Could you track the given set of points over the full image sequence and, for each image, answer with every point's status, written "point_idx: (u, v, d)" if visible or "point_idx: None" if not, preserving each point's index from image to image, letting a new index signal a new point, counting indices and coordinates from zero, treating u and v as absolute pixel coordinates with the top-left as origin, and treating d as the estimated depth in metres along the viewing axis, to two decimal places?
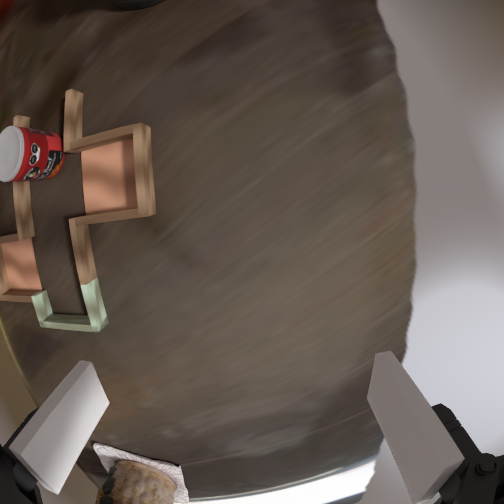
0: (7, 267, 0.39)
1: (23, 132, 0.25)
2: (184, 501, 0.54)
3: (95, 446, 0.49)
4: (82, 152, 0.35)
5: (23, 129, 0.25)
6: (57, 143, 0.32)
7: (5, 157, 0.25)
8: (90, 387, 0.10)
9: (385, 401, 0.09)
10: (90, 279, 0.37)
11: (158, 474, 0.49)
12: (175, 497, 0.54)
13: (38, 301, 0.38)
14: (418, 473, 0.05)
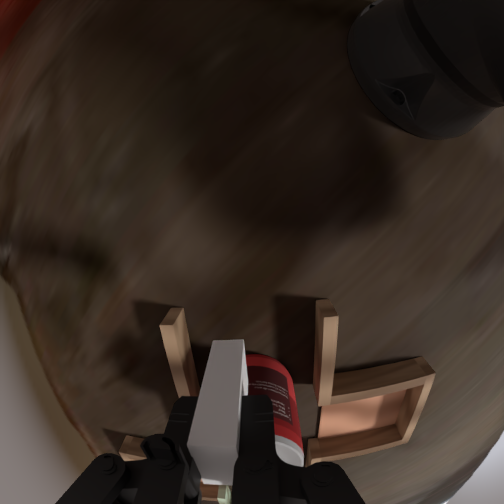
0: None
1: (295, 441, 0.16)
2: None
3: None
4: None
5: (287, 431, 0.17)
6: (292, 384, 0.24)
7: None
8: None
9: None
10: None
11: None
12: None
13: (226, 498, 0.30)
14: None
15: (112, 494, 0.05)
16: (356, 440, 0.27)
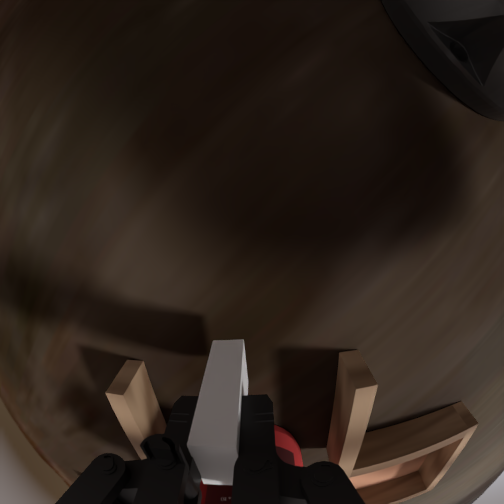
0: None
1: None
2: None
3: None
4: None
5: None
6: (300, 458, 0.15)
7: None
8: None
9: None
10: None
11: None
12: None
13: None
14: None
15: (112, 494, 0.05)
16: (373, 494, 0.18)
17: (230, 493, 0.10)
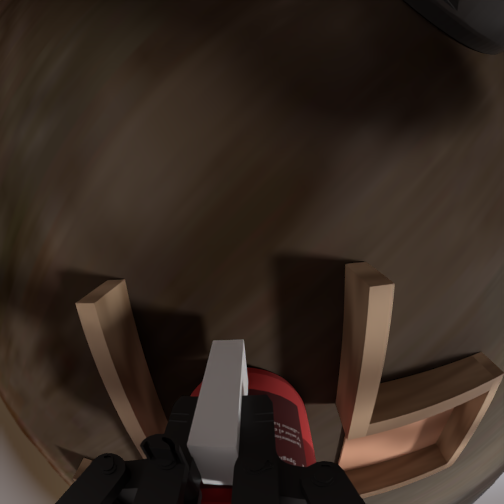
0: None
1: None
2: None
3: None
4: None
5: None
6: (306, 415, 0.14)
7: None
8: None
9: None
10: None
11: None
12: None
13: None
14: None
15: (112, 494, 0.05)
16: (388, 470, 0.17)
17: None
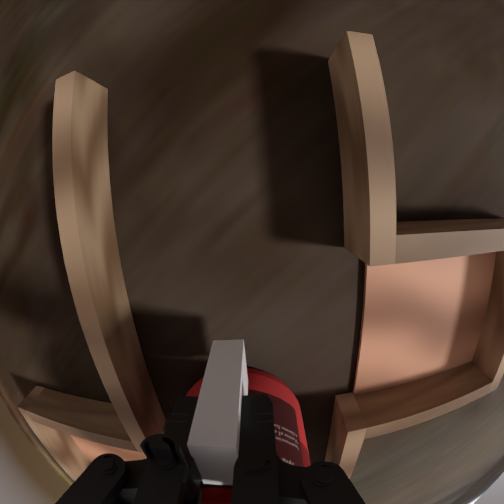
0: (77, 439, 0.18)
1: None
2: None
3: None
4: None
5: None
6: (302, 419, 0.14)
7: None
8: None
9: None
10: None
11: None
12: None
13: None
14: None
15: (112, 494, 0.05)
16: (422, 391, 0.14)
17: None
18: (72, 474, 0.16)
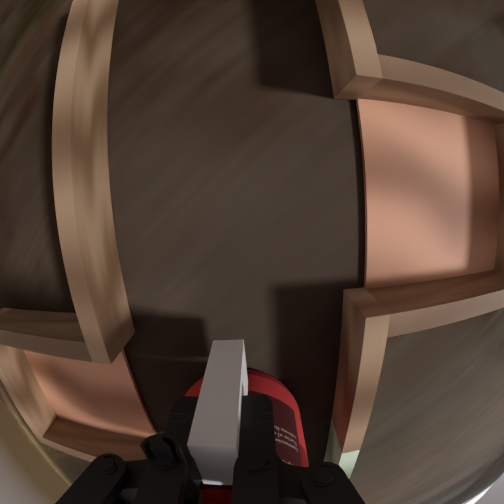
0: (41, 379, 0.16)
1: None
2: None
3: None
4: (362, 102, 0.12)
5: None
6: (300, 420, 0.14)
7: None
8: None
9: None
10: None
11: None
12: None
13: None
14: None
15: (112, 494, 0.05)
16: (447, 287, 0.13)
17: None
18: (32, 424, 0.14)
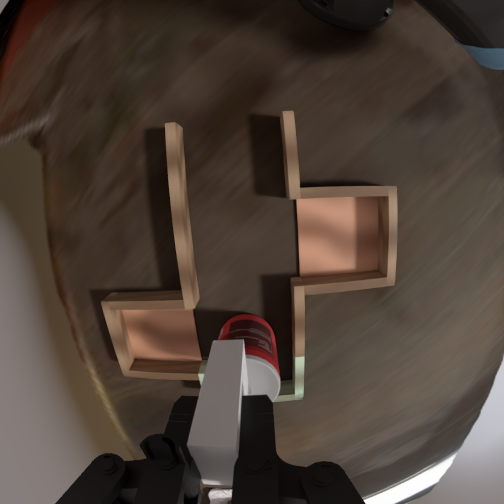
0: (132, 333, 0.38)
1: (275, 367, 0.27)
2: None
3: (212, 492, 0.47)
4: (298, 199, 0.33)
5: (270, 359, 0.28)
6: (274, 338, 0.35)
7: None
8: None
9: None
10: None
11: None
12: None
13: None
14: None
15: (112, 494, 0.05)
16: (339, 277, 0.34)
17: (240, 335, 0.31)
18: (124, 361, 0.35)
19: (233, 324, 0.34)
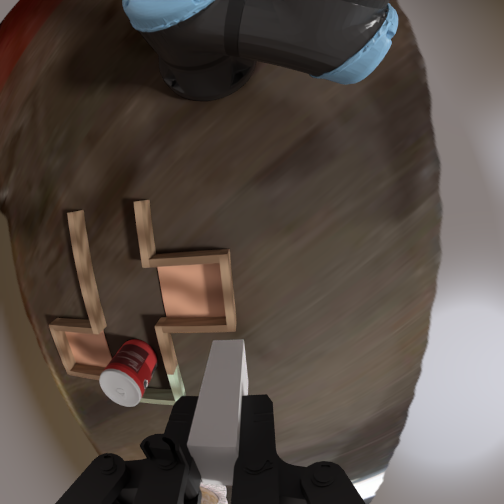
0: (72, 345, 0.48)
1: (135, 380, 0.38)
2: None
3: None
4: None
5: (132, 374, 0.38)
6: (153, 358, 0.46)
7: (117, 390, 0.38)
8: None
9: None
10: (174, 368, 0.46)
11: (205, 492, 0.58)
12: None
13: None
14: None
15: (112, 494, 0.05)
16: (191, 320, 0.44)
17: (120, 355, 0.41)
18: (66, 364, 0.46)
19: (123, 346, 0.44)
